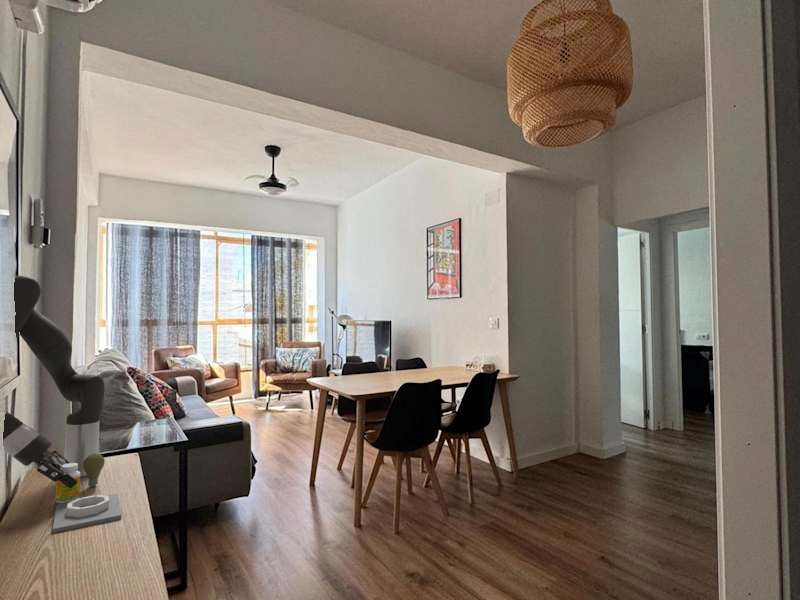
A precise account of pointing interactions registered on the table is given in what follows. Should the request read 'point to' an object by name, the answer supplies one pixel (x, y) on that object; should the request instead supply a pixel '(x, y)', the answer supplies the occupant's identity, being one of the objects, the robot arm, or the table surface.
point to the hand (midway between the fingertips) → (76, 481)
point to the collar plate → (86, 512)
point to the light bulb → (93, 468)
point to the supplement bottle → (63, 491)
